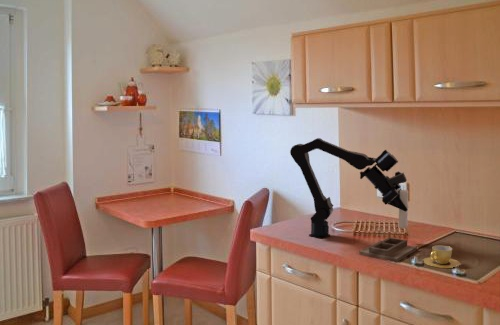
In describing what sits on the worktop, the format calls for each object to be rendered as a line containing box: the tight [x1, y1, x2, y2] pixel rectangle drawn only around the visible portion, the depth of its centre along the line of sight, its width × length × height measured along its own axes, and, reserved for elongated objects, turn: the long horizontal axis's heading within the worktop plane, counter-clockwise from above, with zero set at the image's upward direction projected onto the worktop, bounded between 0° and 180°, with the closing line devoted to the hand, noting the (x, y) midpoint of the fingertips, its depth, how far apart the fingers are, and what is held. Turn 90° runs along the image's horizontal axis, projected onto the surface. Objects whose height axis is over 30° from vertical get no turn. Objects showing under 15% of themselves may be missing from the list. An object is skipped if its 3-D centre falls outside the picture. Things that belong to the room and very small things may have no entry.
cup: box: [422, 244, 461, 269], centre depth 173 cm, size 12×12×5 cm
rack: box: [358, 237, 418, 263], centre depth 185 cm, size 14×18×3 cm
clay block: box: [398, 189, 409, 230], centre depth 196 cm, size 3×5×14 cm, turn 160°
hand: (407, 209), depth 196 cm, fingers closed on clay block, 5 cm apart
